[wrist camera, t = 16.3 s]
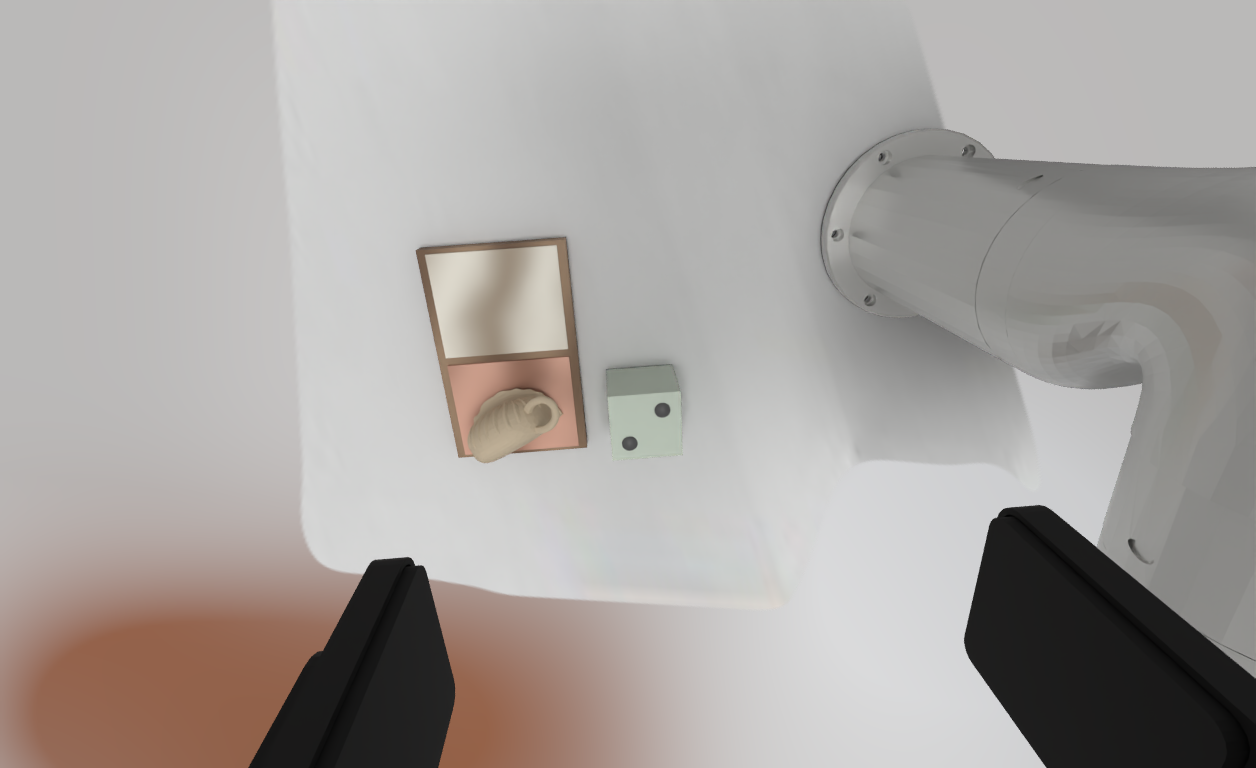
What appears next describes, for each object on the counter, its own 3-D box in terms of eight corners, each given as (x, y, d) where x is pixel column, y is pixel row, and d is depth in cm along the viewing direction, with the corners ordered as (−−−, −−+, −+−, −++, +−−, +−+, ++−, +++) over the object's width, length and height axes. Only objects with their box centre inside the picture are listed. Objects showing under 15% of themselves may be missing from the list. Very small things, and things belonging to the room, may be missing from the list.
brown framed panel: (565, 237, 40) (564, 240, 39) (587, 441, 46) (586, 448, 45) (420, 247, 40) (414, 251, 38) (461, 451, 46) (458, 458, 45)
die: (672, 364, 44) (680, 391, 39) (674, 423, 46) (682, 455, 41) (606, 369, 44) (607, 397, 39) (611, 428, 46) (612, 461, 41)
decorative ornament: (457, 414, 43) (439, 450, 38) (553, 363, 42) (547, 393, 37) (488, 455, 45) (474, 494, 40) (581, 407, 44) (579, 441, 39)
